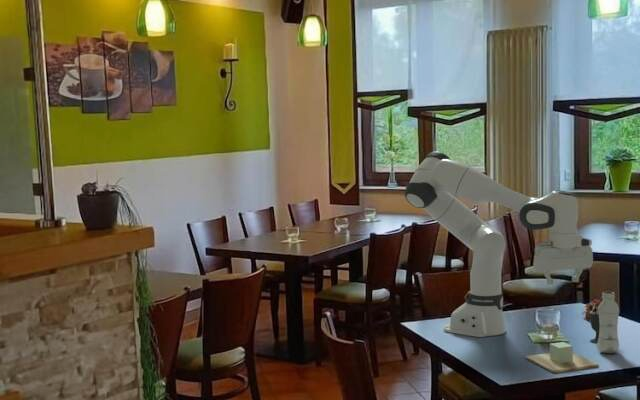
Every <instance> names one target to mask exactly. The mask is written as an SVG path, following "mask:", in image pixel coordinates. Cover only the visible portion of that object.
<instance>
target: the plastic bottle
mask: <svg viewBox="0 0 640 400" xmlns="http://www.w3.org/2000/svg"><path fill="white" fill-rule="evenodd" d="M601 295H602V296H601V299H603V301H602V302H601V303H600V305H599V306H598V313H599V323H600V330H599V338H598V343H596V344H597V350H599V352H601V353H603V354H616V353H617V352H618V351H619V349H620V348H619V347H620V342H619V335H618V324H619V323H618V322H619V316H620V315H619V314H620V306H619V304H618V303H617V302H616V301H615V299H616V297H615V295H616V294H615V292H614V291H613V292H612V291H603V292H602V294H601Z"/></svg>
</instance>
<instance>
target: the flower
mask: <svg viewBox="0 0 640 400" xmlns="http://www.w3.org/2000/svg"><path fill="white" fill-rule="evenodd" d="M602 299H603V298H600V299H596V298H595V299H594V300H593V301H590V302H589V303H586V305H585V306H583V307H584V308H585V310H583V311H582V312H581V314H582V315H584V317H585V318H586V319H588V320H589V319H590V315H589V314H588V312H589V311H590V305H591V306H594V305H598V303H600V302H602Z"/></svg>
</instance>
